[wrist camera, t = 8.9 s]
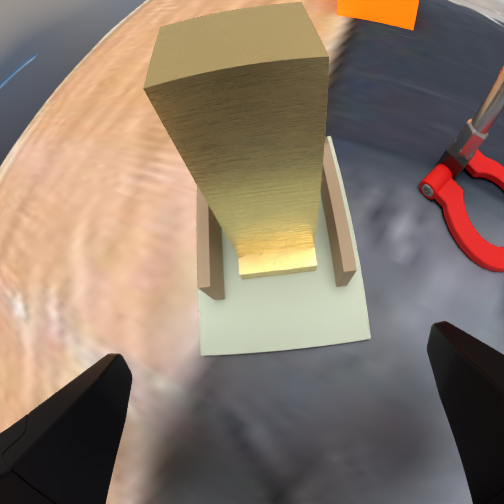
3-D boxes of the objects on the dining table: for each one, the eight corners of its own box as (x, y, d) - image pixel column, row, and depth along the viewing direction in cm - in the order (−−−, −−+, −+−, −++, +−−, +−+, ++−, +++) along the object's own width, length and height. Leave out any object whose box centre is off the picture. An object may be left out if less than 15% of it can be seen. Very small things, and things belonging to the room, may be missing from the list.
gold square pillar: (316, 270, 17) (341, 85, 5) (242, 279, 17) (136, 119, 6) (303, 190, 18) (294, -10, 7) (236, 198, 19) (164, 13, 7)
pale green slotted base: (368, 339, 16) (386, 333, 12) (204, 355, 17) (181, 354, 13) (330, 141, 20) (333, 105, 17) (200, 159, 21) (184, 125, 18)
